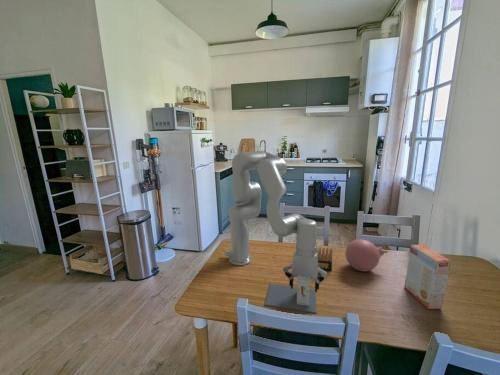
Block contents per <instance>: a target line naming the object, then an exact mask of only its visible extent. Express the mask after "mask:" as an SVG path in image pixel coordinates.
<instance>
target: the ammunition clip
mask: <svg viewBox="0 0 500 375" xmlns="http://www.w3.org/2000/svg"><path fill="white" fill-rule="evenodd" d="M316 248H317V249H319V252H317V256H318V267H319V268H320V269H322V270H324V271H326V272H332V271H333V249H332V247H330V250H329V248H328V247H326V248H325V247H323V248H321V246H320V247H319V248H318V247H317V246H316ZM325 249H326V250H325Z"/></svg>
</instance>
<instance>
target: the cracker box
mask: <svg viewBox="0 0 500 375" xmlns="http://www.w3.org/2000/svg"><path fill="white" fill-rule="evenodd" d="M451 262H452V261H451V260H450V259H448V258H446V257H445V256H443V255H442V254H440V253H439V252H436V251H435V250H433V249H432V248H430V247H429V246H427V245H425V244H410V250H409V256H408V262H407V268H406V275H405V279H404V280H405V281H404V289H405V290H407V291H408V292H409V293H410V294H411V295H412V297H414V298H415V299H416V300H417V301H419V302H420V304H422V305H423V306H424V308H426V309H427V310H442V306H443V302H444V297H445V293H446V289H447V288H446V287H447V283H448V278H449V272H450V268H451V264H452V263H451Z"/></svg>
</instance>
